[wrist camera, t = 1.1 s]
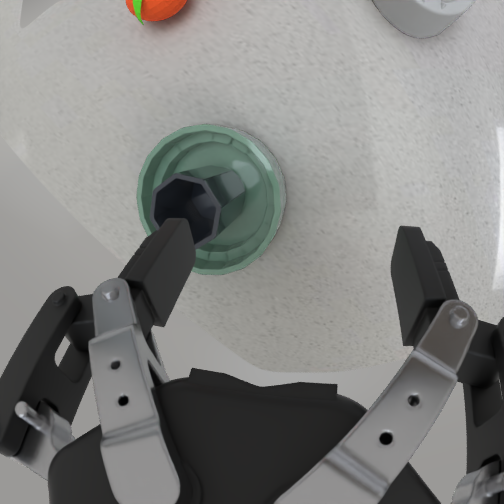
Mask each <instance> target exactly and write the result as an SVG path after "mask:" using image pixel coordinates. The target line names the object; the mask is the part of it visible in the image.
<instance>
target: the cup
mask: <svg viewBox="0 0 504 504" xmlns="http://www.w3.org/2000/svg"><path fill="white" fill-rule="evenodd" d="M245 194H246V190H245V189H244V186H243V183H242V181H241V180H240V178H239V177H238V176H237V175H236V174H235V172H234V171H233V170H231V169H227V168H225V167H220V166H213V165H208V166H204V167H199V168H195V169H191V170H187V171H182V172H178V173H174V174H173V175H172V176H170V177H169V178H168V179H166V180H165V181H164V182H162V183H161V184H160V185H159V186H157V187H156V188H155V189H154V190H153V193H152V201H151V210H150V218H151V219H150V220H151V222H152V223H153V225H154V227H155V228H156V230H159V228H160V227H161V226H162V224H163V223H164V222H165V220H166V219H168V218H185V219H187V220H188V222H189V226H190V230H191V234H192V238H193V242H194V246H195V250H196V249H198V248H199V247H201V246H203V245H205V244H206V243H208V242H210V241H211V240H213V239H215V238H216V237H217V236H218V235H219V234H220V233H221V232H222V231H223V230H224V229H226V228H227V227H228V226H229V225H230V224H231V223H232V222H233V221H234V220H235V219H236V218H237V217H238V216H240V214H241V212H242V208H243V206H244V203H245Z"/></svg>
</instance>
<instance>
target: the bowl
mask: <svg viewBox="0 0 504 504" xmlns="http://www.w3.org/2000/svg"><path fill="white" fill-rule="evenodd" d="M208 165H213V166H220V167H225V168H227V169H231V170H233V171H234V172H235V174H236V175H237V176H238V177H239V178H240V180H241V181H242V183H243V186H244V189H245V190H246V194H245V203H244V206H243V208H242V212H241V214H240V216H238V217H237V218H236V219H235V220H234V221H233V222H232V223H231V224H230V225H229V226H228V227H227V228H226V229H224V230H223V231H222V232H221V233H220V234H219V235H218V236H217V237H216V238H215V239H213V240H211V241H210V242H208V243H206V244H205V245H203V246H201V247H199V248H198V249H196V260H195V264H194V267H193V269H192V272H195V273H198V274H202V275H224V274H227V273H230V272H234V271H237V270H240V269H243V268H245V267H246V266H247V265H249V264H250V263H252V262H253V261H254V260H256V259H257V258H258V257H260V256H261V255H262V254H263V252H264V251H265V249H266V248H267V246H268V245H269V243H270V242H271V240H272V239H273V237H274V236H275V234H276V232H277V230H278V228H279V226H280V223H281V220H282V217H283V213H284V209H285V205H286V189H285V180H284V177H283V174H282V172H281V169H280V167H279V165H278V162H277V160H276V158H275V157H274V156H273V155H272V153H271V152H270V151H269V150H268V149H267V148H266V146H265V145H264V144H263V143H262V142H261V141H259V140H258V139H256V138H254V137H253V136H251V135H249V134H247V133H246V132H244V131H242V130H238V129H233V128H228V127H222V126H216V125H210V124H202V125H196V126H190V127H184V128H181V129H179V130H178V131H176V132H174V133H172V134H170V135H169V136H167V137H165V138H163V139H162V140H161V141H160V142H159V144H158V145H157V146H156V147H155V148H154V149H153V150H152V151H151V153H150V154H149V155H148V156H147V159H146V161H145V163H144V165H143V168H142V170H141V172H140V175H139V179H138V188H137V204H138V210H139V216H140V220H141V223H142V225H143V227H144V229H145V231H146V233H147V236H149V235H150V234H152V233H153V232H154V231H156V228H155V227H154V225H153V223H152V222H151V220H150V219H151V218H150V210H151V201H152V193H153V190H154V189H155V188H156V187H157V186H159V185H160V184H161V183H162V182H164V181H165V180H166V179H168V178H169V177H170V176H172V175H173V174H174V173H178V172H182V171H187V170H191V169H195V168H199V167H204V166H208Z"/></svg>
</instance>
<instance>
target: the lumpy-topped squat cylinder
mask: <svg viewBox="0 0 504 504" xmlns="http://www.w3.org/2000/svg"><path fill="white" fill-rule="evenodd" d="M373 2H374V4H375V5H376V7H377V8H378V10H379V11H380V12H381V14H382V15H383V16H384V17H385V18H386V19H387V20H388V21H389V22H390V23H391V24H392V25H393V26H394V27H396V28H397V29H398V30H400V31H401V32H403V33H404V34H406V35H409V36H412V37H415V38H429V37H433V36H435V35H438V34H440V33H441V32H442V31H443V30H445V29H446V28H447V27H448V26H449V25H450V24H452V23H453V22H454V21H455V20H456V19H458V18H459V17H460V16H461V15H462V14H463V13H465V12H466V11H467V10H468V9H469V8H470V7H471V6H472V5H473V3H474V2H475V0H373Z"/></svg>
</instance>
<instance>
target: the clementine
mask: <svg viewBox="0 0 504 504" xmlns="http://www.w3.org/2000/svg"><path fill="white" fill-rule="evenodd" d="M186 2H187V0H126V4H127V7H128V9H129V11H130V12H131V13H132V14H133V15H135V16H136V17H137V18H138V20H139V21H140V22H141V23H142V24H143V22H142V20H141V19H143V20H146V21H160V20H164V19H167V18H169V17H171V16H173V15H174V14H176V13H177V12H178V11H179V10H181V9H182V8H183V6H184V5H185V3H186Z"/></svg>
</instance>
